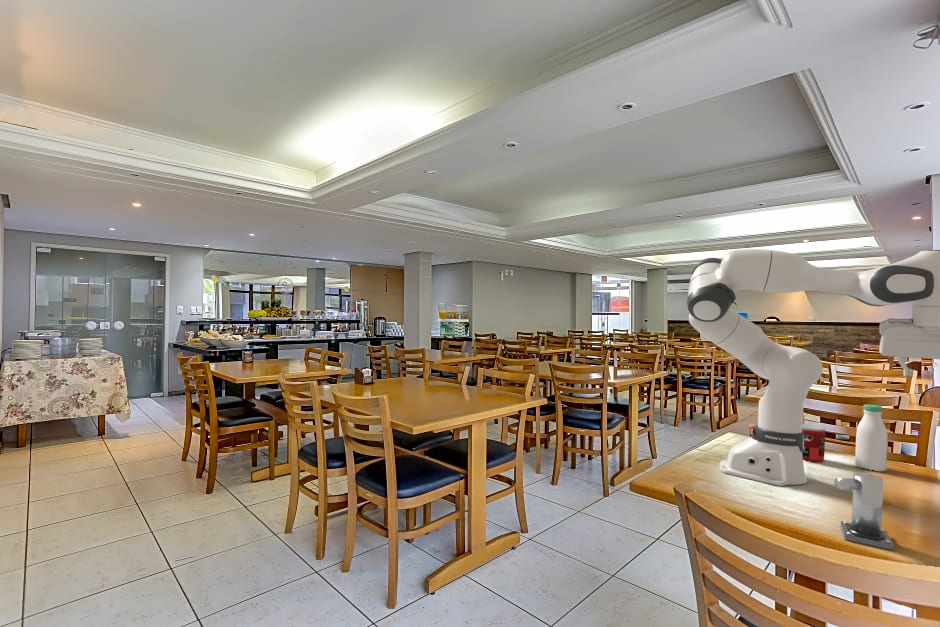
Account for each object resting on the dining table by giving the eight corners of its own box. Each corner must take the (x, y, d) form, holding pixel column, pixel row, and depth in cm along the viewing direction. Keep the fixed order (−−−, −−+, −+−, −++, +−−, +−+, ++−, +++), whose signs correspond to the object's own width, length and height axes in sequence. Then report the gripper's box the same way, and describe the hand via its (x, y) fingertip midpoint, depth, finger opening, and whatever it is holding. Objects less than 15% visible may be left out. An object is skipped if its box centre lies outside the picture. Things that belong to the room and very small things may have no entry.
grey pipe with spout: (868, 526, 107) (870, 473, 107) (887, 537, 102) (889, 481, 102) (828, 525, 107) (830, 471, 107) (845, 536, 102) (847, 480, 102)
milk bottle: (886, 473, 147) (888, 409, 147) (854, 467, 153) (856, 405, 152) (886, 468, 153) (889, 405, 153) (855, 462, 158) (858, 402, 158)
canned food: (790, 454, 165) (791, 423, 165) (815, 456, 164) (816, 424, 164) (802, 461, 157) (803, 428, 157) (829, 463, 156) (830, 430, 156)
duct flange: (844, 540, 103) (845, 533, 103) (840, 526, 110) (840, 519, 110) (893, 550, 99) (894, 543, 99) (886, 535, 106) (886, 529, 106)
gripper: (881, 318, 115) (879, 375, 115) (1004, 321, 104) (1001, 384, 105) (877, 317, 121) (875, 372, 121) (993, 321, 110) (990, 381, 110)
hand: (934, 378), depth 113 cm, fingers open, 8 cm apart
